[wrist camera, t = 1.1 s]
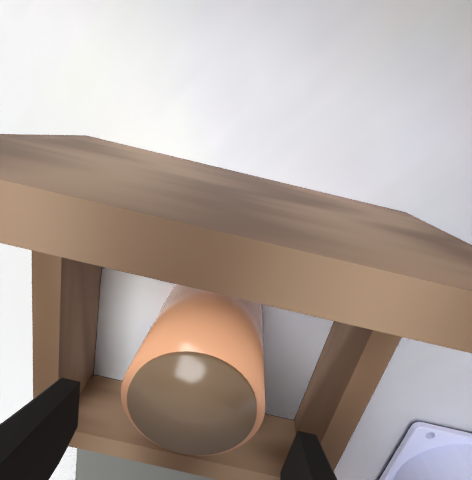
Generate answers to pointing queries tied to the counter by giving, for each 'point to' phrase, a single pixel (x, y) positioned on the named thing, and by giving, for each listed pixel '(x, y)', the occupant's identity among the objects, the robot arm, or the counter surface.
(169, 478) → the slate mat
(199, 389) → the peach orange cylinder
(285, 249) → the potting tray
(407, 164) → the counter surface
